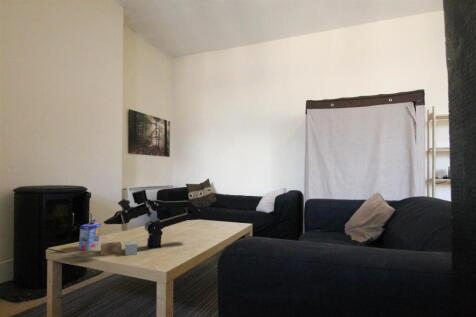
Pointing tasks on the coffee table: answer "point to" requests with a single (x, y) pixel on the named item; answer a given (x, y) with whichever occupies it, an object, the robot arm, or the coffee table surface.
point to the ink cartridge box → (89, 235)
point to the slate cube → (130, 248)
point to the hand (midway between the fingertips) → (104, 222)
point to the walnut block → (111, 248)
